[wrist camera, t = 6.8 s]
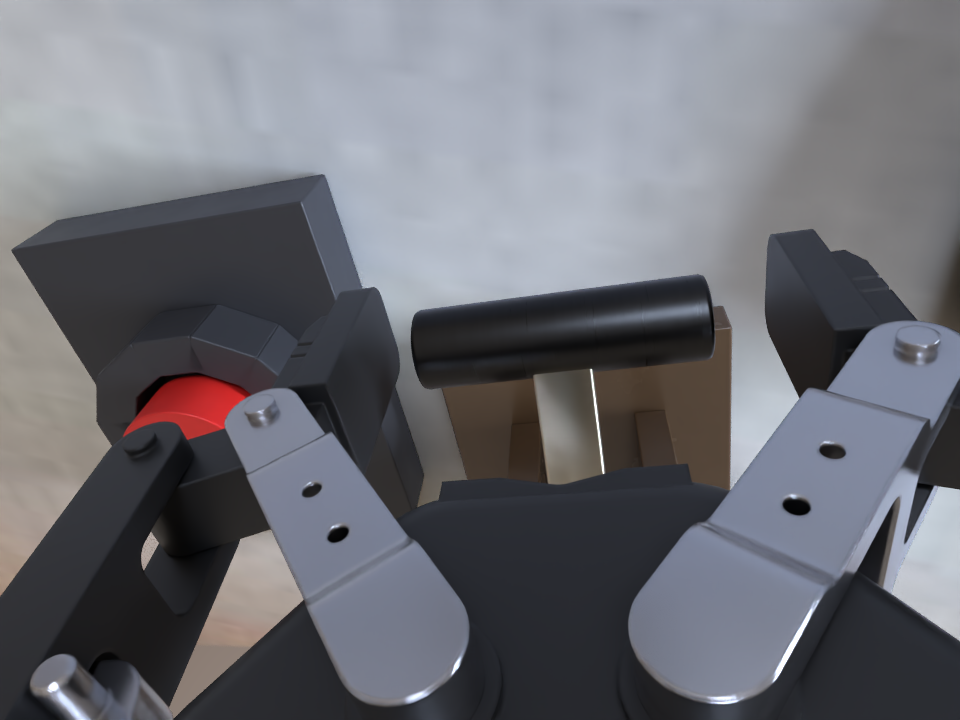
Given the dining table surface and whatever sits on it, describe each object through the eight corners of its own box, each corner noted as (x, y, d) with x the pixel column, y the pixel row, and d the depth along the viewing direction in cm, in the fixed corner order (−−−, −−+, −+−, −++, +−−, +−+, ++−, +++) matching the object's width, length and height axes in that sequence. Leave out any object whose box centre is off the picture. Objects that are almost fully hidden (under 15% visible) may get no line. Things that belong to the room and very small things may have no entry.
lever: (428, 301, 14) (397, 324, 12) (694, 265, 13) (716, 284, 11) (510, 771, 17) (498, 864, 15) (733, 772, 16) (758, 872, 14)
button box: (56, 219, 21) (-37, 279, 18) (324, 173, 19) (277, 229, 16) (213, 492, 27) (167, 572, 24) (424, 475, 26) (405, 559, 22)
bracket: (439, 339, 22) (335, 735, 12) (722, 305, 20) (902, 732, 10) (494, 541, 27) (458, 937, 17) (722, 527, 26) (837, 957, 15)
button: (127, 381, 20) (93, 419, 18) (251, 367, 19) (227, 405, 17) (186, 480, 22) (160, 520, 20) (299, 470, 21) (281, 511, 20)
